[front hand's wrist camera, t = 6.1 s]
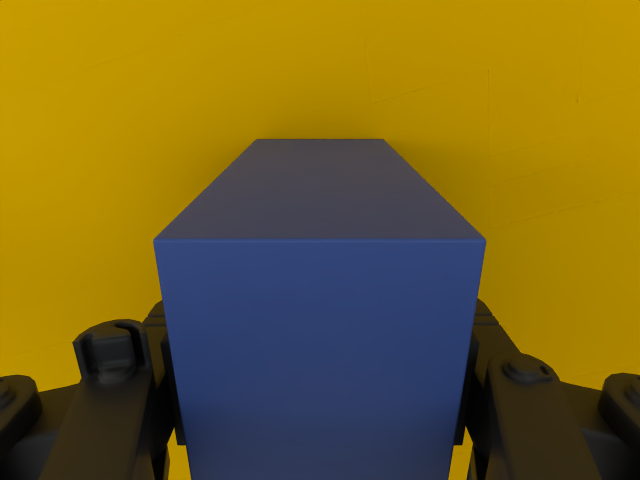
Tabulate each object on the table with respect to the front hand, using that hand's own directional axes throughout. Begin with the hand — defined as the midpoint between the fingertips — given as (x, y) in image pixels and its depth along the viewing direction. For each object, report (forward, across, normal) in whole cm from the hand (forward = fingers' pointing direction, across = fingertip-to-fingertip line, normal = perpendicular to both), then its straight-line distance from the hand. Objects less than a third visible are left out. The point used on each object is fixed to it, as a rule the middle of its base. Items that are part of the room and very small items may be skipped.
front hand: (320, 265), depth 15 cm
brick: (+3, 0, 0) cm, 3 cm away
